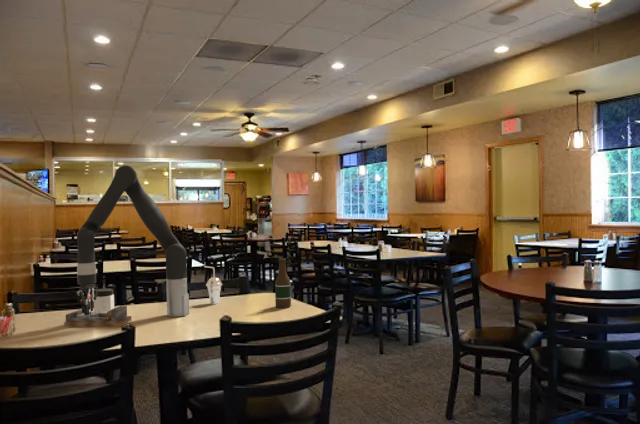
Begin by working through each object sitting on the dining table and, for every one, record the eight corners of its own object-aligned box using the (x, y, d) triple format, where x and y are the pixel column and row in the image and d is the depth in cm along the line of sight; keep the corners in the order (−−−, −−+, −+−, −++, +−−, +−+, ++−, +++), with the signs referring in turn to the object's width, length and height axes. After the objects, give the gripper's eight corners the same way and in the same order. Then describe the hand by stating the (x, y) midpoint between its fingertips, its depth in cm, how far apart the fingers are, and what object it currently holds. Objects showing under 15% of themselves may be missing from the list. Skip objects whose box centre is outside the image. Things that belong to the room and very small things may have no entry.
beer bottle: (294, 305, 243) (293, 258, 243) (285, 308, 237) (283, 259, 237) (281, 304, 248) (280, 257, 247) (272, 307, 241) (271, 259, 241)
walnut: (118, 318, 215) (118, 309, 215) (113, 320, 211) (113, 310, 211) (109, 318, 215) (109, 309, 215) (104, 320, 211) (104, 310, 211)
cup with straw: (220, 305, 249) (220, 266, 249) (203, 305, 250) (202, 266, 249) (224, 301, 258) (223, 264, 258) (207, 302, 258) (206, 264, 258)
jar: (95, 317, 225) (94, 292, 225) (92, 314, 232) (92, 289, 232) (116, 315, 230) (115, 289, 230) (112, 312, 237) (112, 287, 237)
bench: (131, 320, 218) (131, 304, 218) (117, 327, 206) (117, 310, 206) (80, 320, 221) (80, 305, 221) (64, 326, 209) (64, 310, 209)
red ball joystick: (100, 316, 217) (100, 292, 217) (92, 320, 210) (91, 294, 210) (85, 316, 218) (85, 292, 218) (76, 320, 211) (76, 294, 211)
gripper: (85, 275, 206) (86, 315, 207) (103, 270, 221) (104, 308, 221) (68, 275, 207) (69, 315, 207) (87, 270, 221) (88, 308, 221)
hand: (87, 311), depth 214 cm, fingers open, 3 cm apart
